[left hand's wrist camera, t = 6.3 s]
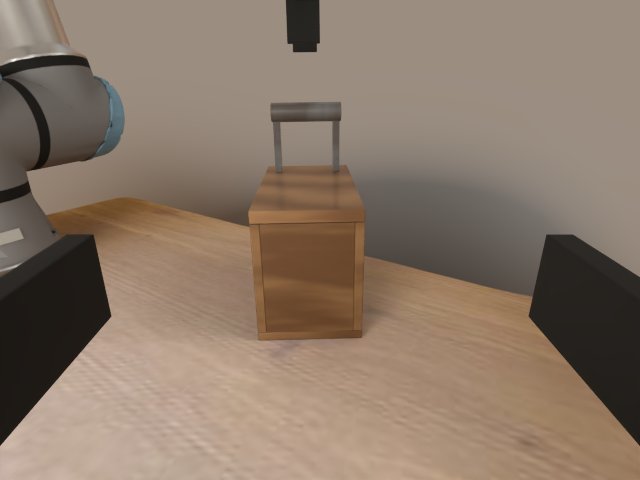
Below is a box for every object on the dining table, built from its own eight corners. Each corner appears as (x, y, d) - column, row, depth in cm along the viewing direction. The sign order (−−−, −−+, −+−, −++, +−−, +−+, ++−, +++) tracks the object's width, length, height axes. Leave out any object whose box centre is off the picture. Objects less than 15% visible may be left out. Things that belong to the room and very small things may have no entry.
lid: (268, 175, 49) (264, 101, 46) (346, 173, 50) (347, 100, 46) (249, 224, 33) (240, 115, 30) (365, 221, 33) (368, 113, 30)
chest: (273, 262, 53) (268, 177, 49) (346, 261, 53) (347, 175, 49) (258, 340, 37) (249, 224, 33) (361, 337, 37) (365, 222, 33)
